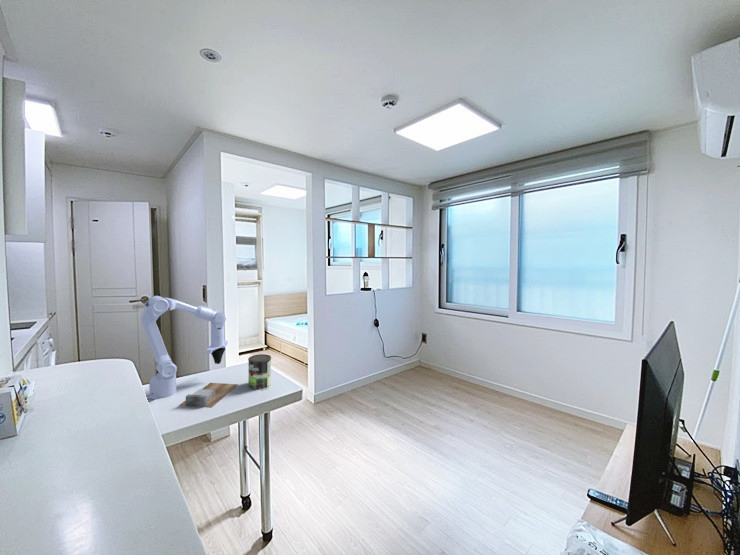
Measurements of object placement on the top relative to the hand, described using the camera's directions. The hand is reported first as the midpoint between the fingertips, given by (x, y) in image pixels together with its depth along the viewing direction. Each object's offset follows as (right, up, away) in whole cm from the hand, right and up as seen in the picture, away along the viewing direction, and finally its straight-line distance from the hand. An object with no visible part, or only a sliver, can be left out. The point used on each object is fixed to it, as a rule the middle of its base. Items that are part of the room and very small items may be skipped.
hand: (217, 363), depth 147 cm
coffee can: (+22, -11, -3) cm, 24 cm away
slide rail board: (+4, -11, -14) cm, 18 cm away
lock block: (+4, -10, -19) cm, 22 cm away
